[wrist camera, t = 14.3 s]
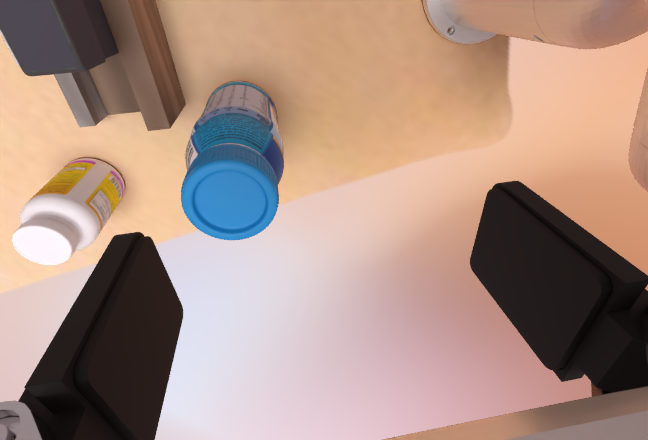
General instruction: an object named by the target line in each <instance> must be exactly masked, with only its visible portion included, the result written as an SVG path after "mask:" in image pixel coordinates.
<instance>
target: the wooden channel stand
mask: <svg viewBox="0 0 648 440" xmlns="http://www.w3.org/2000/svg"><path fill="white" fill-rule="evenodd" d="M100 3H101V5H102V8H103V11H104V13H105V16H106V19H107V22H108V24H109V27H110V30H111V32H112V35H113V38H114V40H115V43H116V46H117V48H118V51H119V53H118V54H115V55H113V56H111V57H109V58H107V59H106V62H104V63H103V64H100V65H98V66H96V67H94V68H92V69H90V70H88V71H82V72H72V73H62V74H54V76H55V78H56V80H57V82H58V84H59V86H60V88H61V90H62V92H63V94H64V96H65V98H66V100H67V102H68V104H69V106H70V109H71V111H72V113H73V115H74V117H75V119H76V121H77V123H78V125H79V127H86V126H95V125H97V124H98V123H99V122H100V121H101V120H103V119H104V118H105V117H106V116H108V115H112V114H121V113H131V112H141V113H142V116H143V118H144V121H145V124H146V126H147V129H148V131H151V130H160V129H170V128H171V126H172V125H173V123H174V122H175V120H176V119H177V117H178V116H179V114H180V112H181V111H182V109H183V108H184V106H185V101H184V98H183V94H182V91H181V87H180V84H179V81H178V77H177V74H176V70H175V67H174V63H173V60H172V57H171V53H170V50H169V46H168V43H167V39H166V36H165V33H164V29H163V26H162V22H161V19H160V15H159V12H158V9H157V5H156V2H155V0H100Z"/></svg>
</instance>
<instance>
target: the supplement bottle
mask: <svg viewBox="0 0 648 440" xmlns="http://www.w3.org/2000/svg"><path fill="white" fill-rule="evenodd" d="M124 189H125V187H124V182H123V179H122V177H121V176H120V174H119V173H118V172H117V171H116V170H115V169H114V168H113V167H112V166H110V165H109V164H107V163H105V162H103V161H100V160H97V159H91V158H82V159H77V160H74V161H72V162H70V163H69V164H67V165H66V166H65V167H64V168H63V169H62V170H61V171H60V172H59V173H58V174H57V175H56V176H55V177H53V178H52V179H51V180H50V181H49V182H48V183H47V184H46V185H45V186H44V187H43V188H42V189H41V190H40V191H39V192H38V193H36V194H35V195H34V196H33V197H32V198H31V199H30V200H29V201H28V202H27V203H26V204H25V205H24V207H23V208H22V211H21V214H20V222H21V226H20V227H19V228H18V229H17V230H16V231H15V233H14V234H13V237H12V243H13V246H14V248H15V249H16V250H17V252H18V253H19V254H21V255H22V256H23V257H25V258H26V259H28V260H30V261H33V262H35V263H39V264H44V265H56V264H60V263H63V262H65V261H67V260H68V259H69V258H70V257H71V255H72V254H73V253H74V252H75V251H76V250H80V249H83V248H85V247H87V246H89V245H90V244H91V243H92V242H93V241H94V240H95V239H96V238H97V236H98V235H99V233H100V231H101V230H102V228H103V227H104V225H105V224H106V222H107V220H108V219H109V218H110V216H111V214H112V213H113V211H114V210H115V208H116V207H117V205H118V203H119V202H120V200H121V198H122V197H123V194H124Z"/></svg>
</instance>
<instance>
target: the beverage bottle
mask: <svg viewBox="0 0 648 440" xmlns="http://www.w3.org/2000/svg"><path fill="white" fill-rule="evenodd" d="M277 123H278V120H277V112H276V108H275V106H274V103H273V102H272V100H271V98H270V97H269V96H268V95H267V93H266V92H264V91H263V90H262V89H261V88H259V87H258V86H256V85H254V84H251V83H248V82H242V81H234V82H229V83H226V84H224V85H222V86H220V87H219V88H217V89H216V90H215V91H214V92H213V93H212V95H211V96H210V98H209V100H208V102H207V104H206V108H205V110H204V112H203V114H202V116H201V117H200V118H199V119H198V121H197V122H196V124H195V126H194V128H193V130H192V133H191V136H190V140H189V142H188V145H187V149H186V167H187V174H186V176H185V179H184V181H183V184H182V185H183V186H182V188H181V189H182V190H181V201H182V207H183V210H184V212H185V214H186V216H187V218H188V219H189V220H190V222H191V223H192V224H193V225H194V226H195V227H196V228H198V229H199V230H200V231H202V232H204V233H205V234H208V235H210V236H212V237H215V238H219V239H224V240H240V239H246V238H249V237H252V236H254V235H256V234H258V233H260V232H261V231H263V230H264V229H265V228H266V227H267V226H268V225H269V224H270V223H271V221H272V220H273V218H274V216H275V214H276V211H277V207H278V204H279V202H278V201H279V194H278V184H279V182H280V179H281V177H282V173H283V168H284V159H283V142H282V138H281V135H280V133H279V131H278V124H277Z"/></svg>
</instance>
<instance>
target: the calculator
mask: <svg viewBox="0 0 648 440" xmlns="http://www.w3.org/2000/svg"><path fill="white" fill-rule="evenodd" d="M0 34H1V36H2V38H3V39H4V41H5V43H6V45H7V47H8V49H9V50H10V52H11V54H12V56H13V58H14V60H15V61H16V63H17V64H18V66H19V67H21V69H22V71H23V72H24V73H25V74H26V75H28V76H40V75H51V74H62V73H72V72H82V71H88V70H90V69H92V68H94V67H96V66H98V65H100V64H103V63H104V62H106V59H107V58H109V57H111V56H113V55H115V54H118V53H119V51H118V48H117V46H116V43H115V40H114V38H113V35H112V32H111V30H110V27H109V24H108V22H107V19H106V16H105V13H104V11H103V8H102V5H101V3H100V0H0Z"/></svg>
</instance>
